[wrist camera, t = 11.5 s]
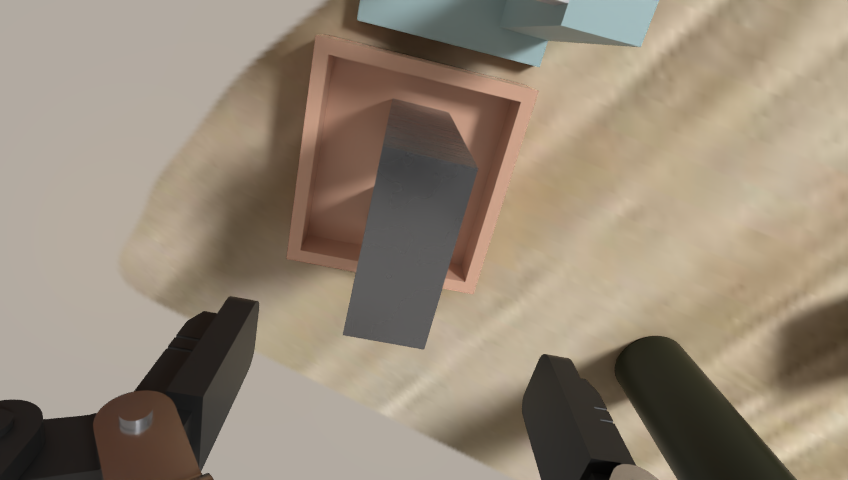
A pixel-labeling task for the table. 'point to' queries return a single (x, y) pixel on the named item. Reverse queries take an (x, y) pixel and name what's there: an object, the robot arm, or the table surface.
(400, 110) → the grey arch block
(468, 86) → the tray
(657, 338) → the wine bottle
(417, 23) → the peg stand
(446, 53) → the table surface
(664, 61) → the table surface
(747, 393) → the table surface
